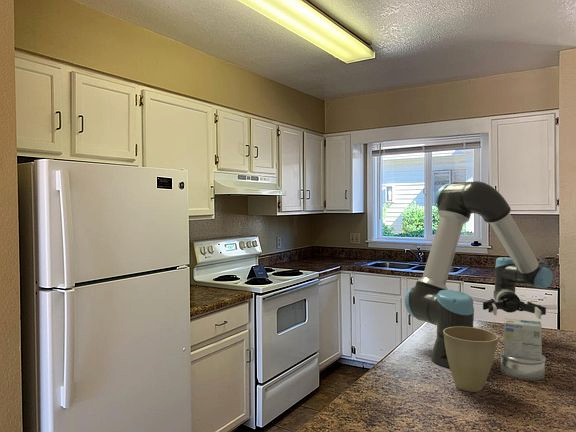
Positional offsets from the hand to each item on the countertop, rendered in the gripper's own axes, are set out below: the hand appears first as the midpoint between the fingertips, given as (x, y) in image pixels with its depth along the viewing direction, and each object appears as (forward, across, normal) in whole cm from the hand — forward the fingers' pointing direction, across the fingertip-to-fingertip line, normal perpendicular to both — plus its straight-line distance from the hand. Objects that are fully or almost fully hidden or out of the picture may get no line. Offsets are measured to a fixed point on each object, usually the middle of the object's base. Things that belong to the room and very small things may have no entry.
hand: (517, 313), depth 152 cm
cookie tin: (+10, 0, -17) cm, 20 cm away
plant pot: (+27, +16, -18) cm, 36 cm away
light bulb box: (+10, 0, -11) cm, 15 cm away
